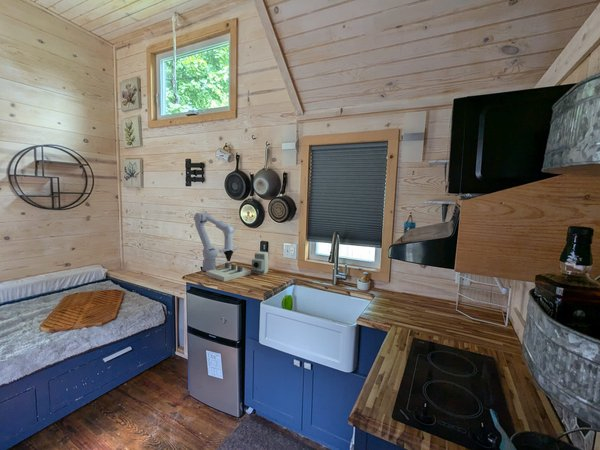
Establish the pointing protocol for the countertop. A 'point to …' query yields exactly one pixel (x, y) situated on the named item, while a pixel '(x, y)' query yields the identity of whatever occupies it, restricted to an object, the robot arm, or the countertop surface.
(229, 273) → the breaker panel
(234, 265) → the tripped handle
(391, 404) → the countertop surface
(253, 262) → the circuit breaker
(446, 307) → the countertop surface
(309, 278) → the countertop surface
